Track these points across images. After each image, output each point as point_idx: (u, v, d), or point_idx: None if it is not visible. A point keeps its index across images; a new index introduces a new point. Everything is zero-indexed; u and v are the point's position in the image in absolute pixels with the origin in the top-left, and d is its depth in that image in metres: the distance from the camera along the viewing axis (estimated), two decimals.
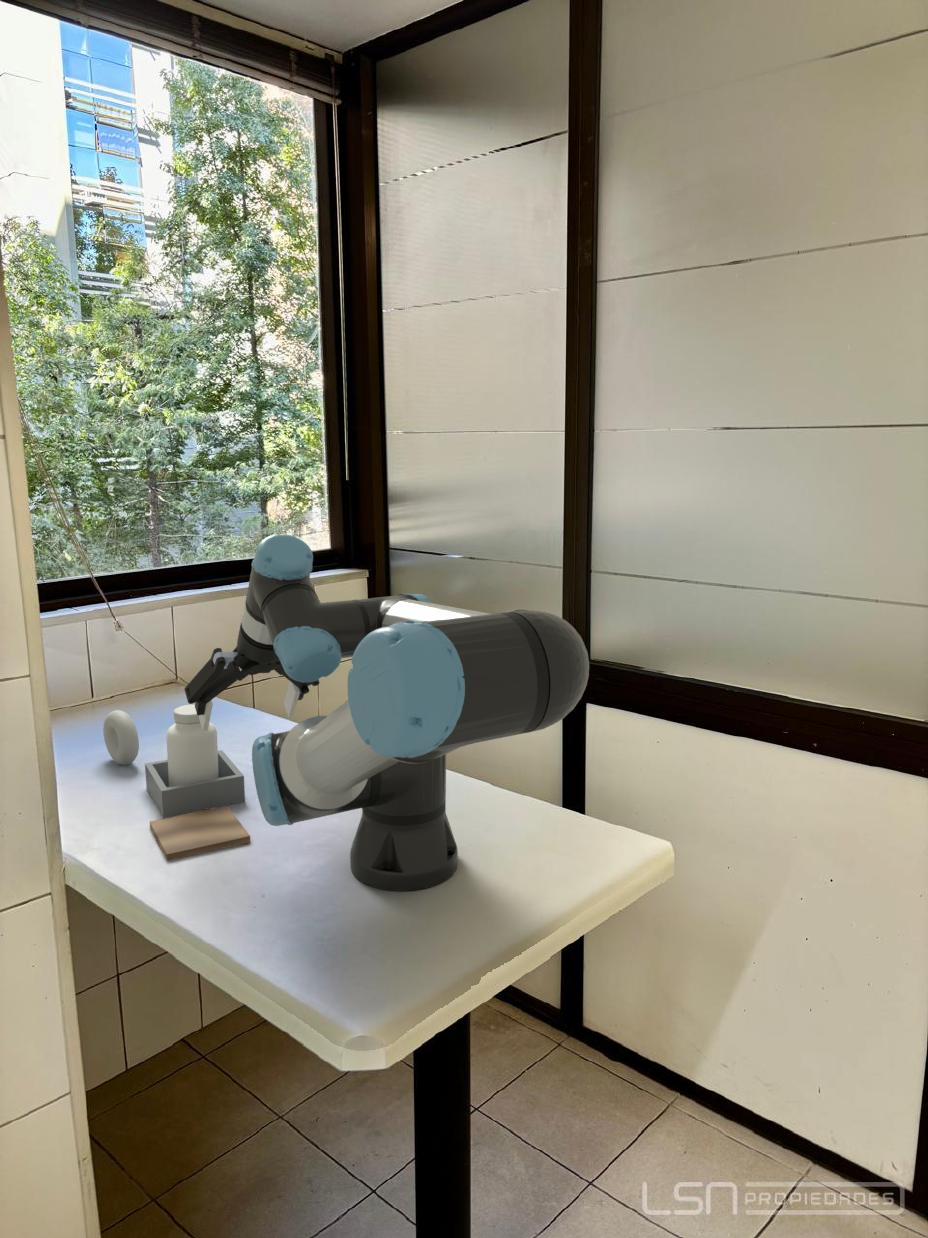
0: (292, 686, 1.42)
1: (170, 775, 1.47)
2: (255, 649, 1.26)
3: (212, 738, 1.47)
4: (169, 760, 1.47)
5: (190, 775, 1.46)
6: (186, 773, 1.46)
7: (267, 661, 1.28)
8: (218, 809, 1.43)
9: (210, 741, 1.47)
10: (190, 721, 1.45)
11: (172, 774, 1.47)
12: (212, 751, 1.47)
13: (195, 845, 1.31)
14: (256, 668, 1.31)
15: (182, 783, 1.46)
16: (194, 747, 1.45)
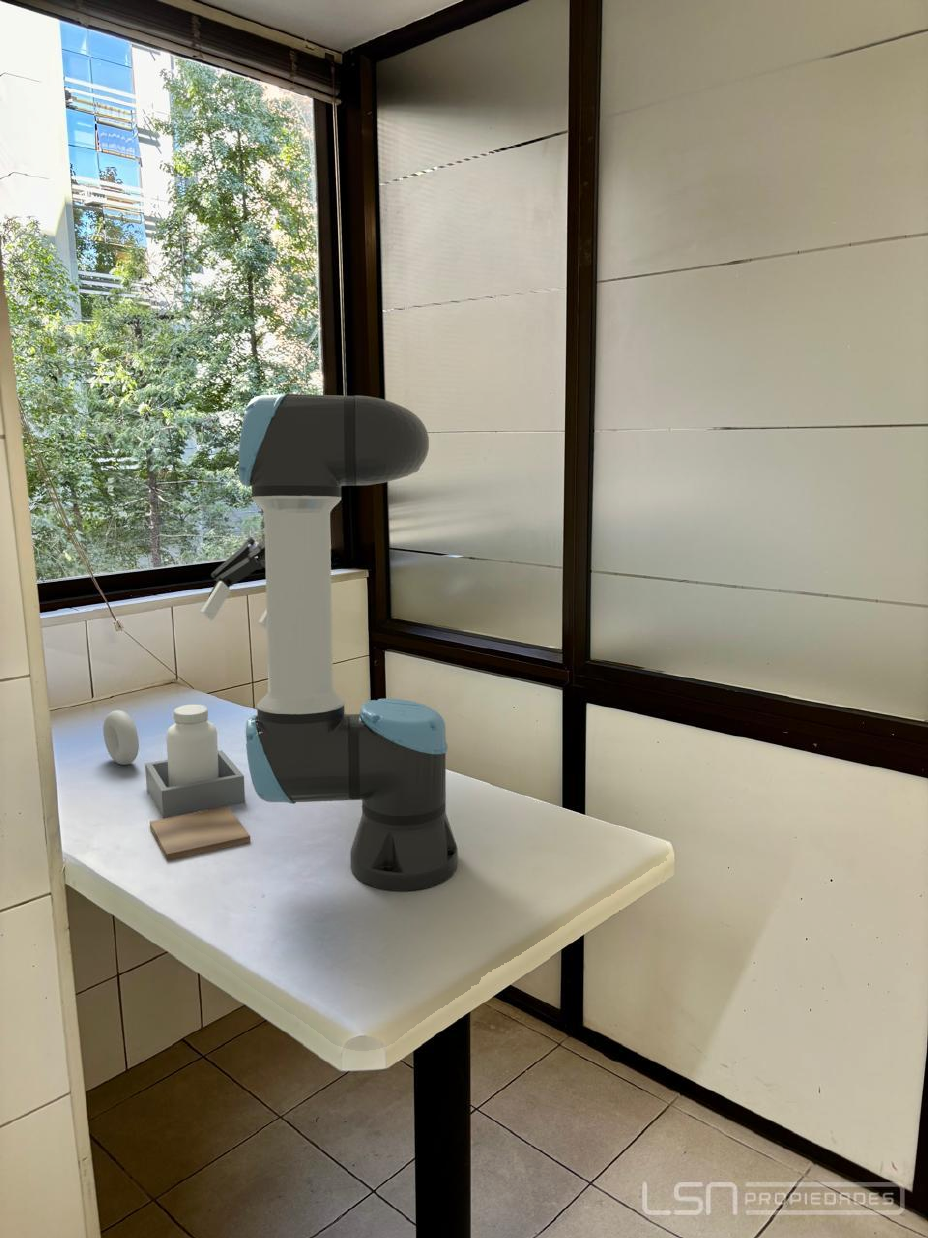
0: None
1: (170, 775, 1.47)
2: None
3: (212, 738, 1.47)
4: (169, 760, 1.47)
5: (190, 775, 1.46)
6: (186, 773, 1.46)
7: None
8: (218, 809, 1.43)
9: (210, 741, 1.47)
10: (190, 721, 1.45)
11: (172, 774, 1.47)
12: (212, 751, 1.47)
13: (195, 845, 1.31)
14: (264, 545, 1.59)
15: (182, 783, 1.46)
16: (194, 747, 1.45)
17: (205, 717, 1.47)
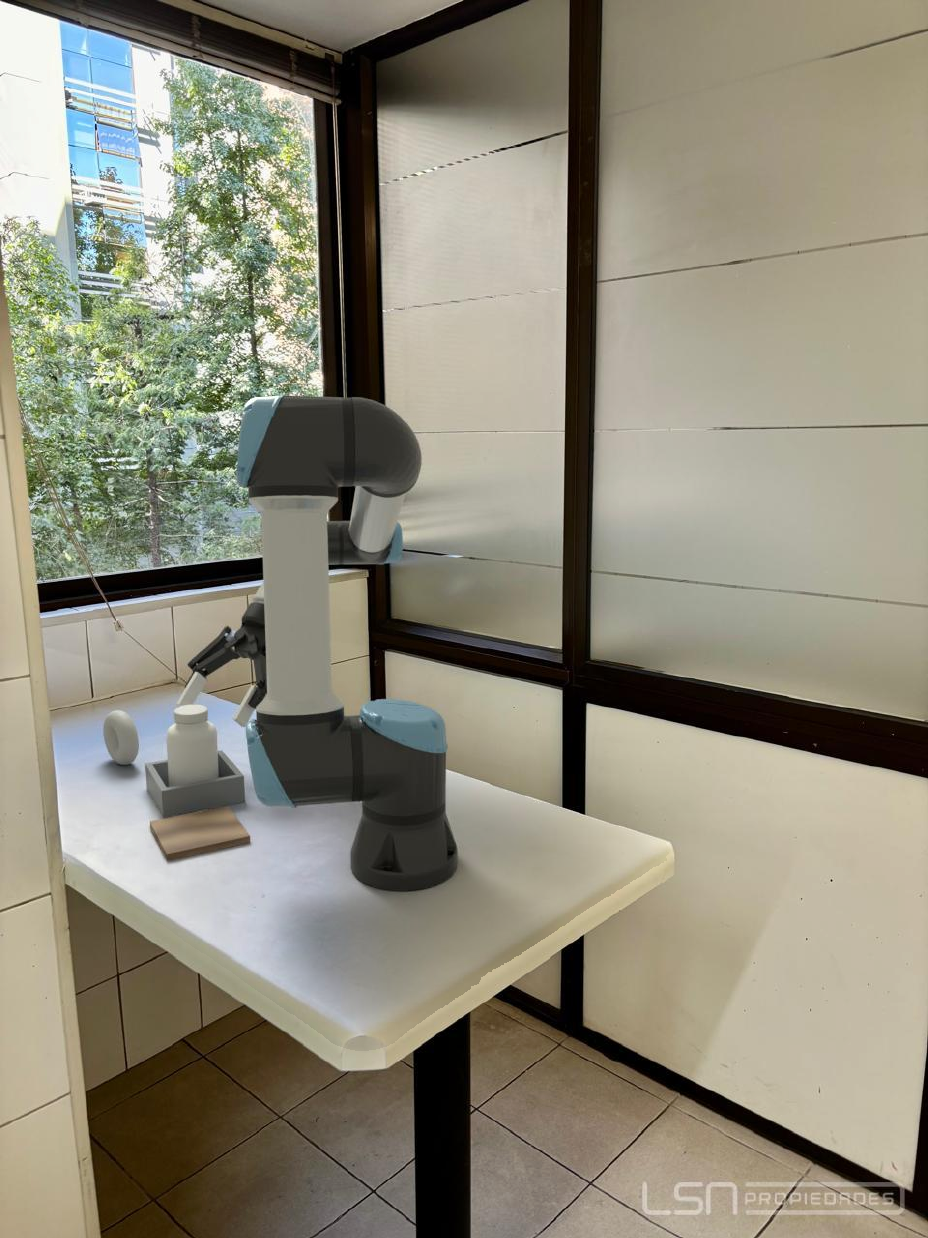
0: None
1: (170, 775, 1.47)
2: (248, 607, 1.60)
3: (212, 738, 1.47)
4: (169, 760, 1.47)
5: (190, 775, 1.46)
6: (186, 773, 1.46)
7: (247, 614, 1.57)
8: (218, 809, 1.43)
9: (210, 741, 1.47)
10: (190, 721, 1.45)
11: (172, 774, 1.47)
12: (212, 751, 1.47)
13: (195, 845, 1.31)
14: (240, 636, 1.58)
15: (182, 783, 1.46)
16: (194, 747, 1.45)
17: (205, 717, 1.47)
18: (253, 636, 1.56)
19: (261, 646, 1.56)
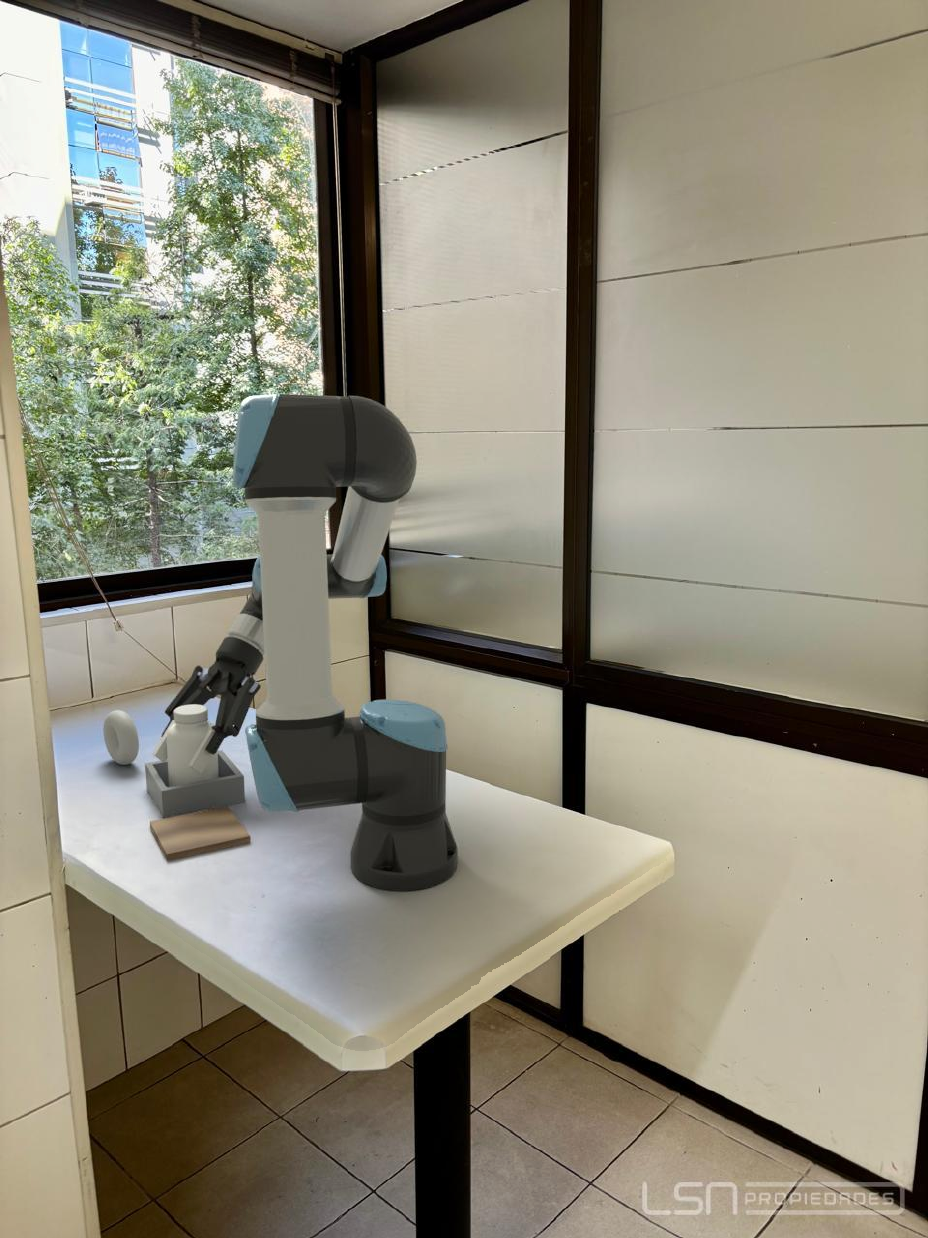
0: None
1: (170, 775, 1.47)
2: None
3: None
4: (169, 760, 1.47)
5: (189, 775, 1.46)
6: (186, 773, 1.46)
7: (221, 649, 1.52)
8: (218, 809, 1.43)
9: None
10: (190, 721, 1.45)
11: (172, 774, 1.47)
12: None
13: (195, 845, 1.31)
14: (214, 672, 1.52)
15: (182, 783, 1.46)
16: (194, 747, 1.45)
17: (205, 717, 1.47)
18: (227, 672, 1.51)
19: (235, 683, 1.51)
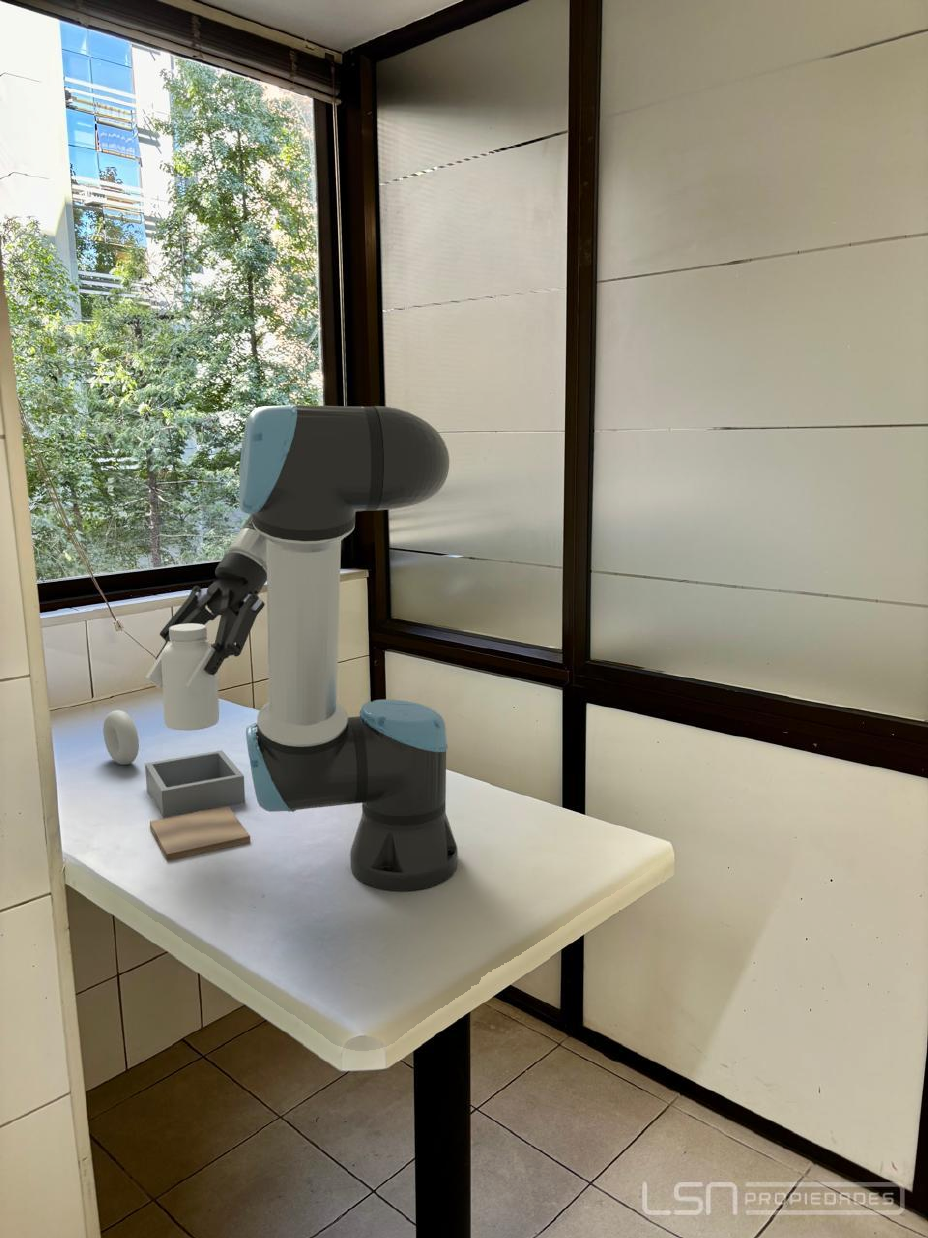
0: None
1: (165, 700, 1.34)
2: None
3: None
4: (164, 682, 1.33)
5: (187, 698, 1.32)
6: (182, 696, 1.32)
7: (221, 565, 1.39)
8: (218, 809, 1.43)
9: None
10: (187, 638, 1.32)
11: (167, 698, 1.33)
12: None
13: (195, 845, 1.31)
14: (214, 590, 1.39)
15: (178, 707, 1.32)
16: (191, 666, 1.31)
17: (204, 635, 1.33)
18: (228, 589, 1.38)
19: (237, 600, 1.37)
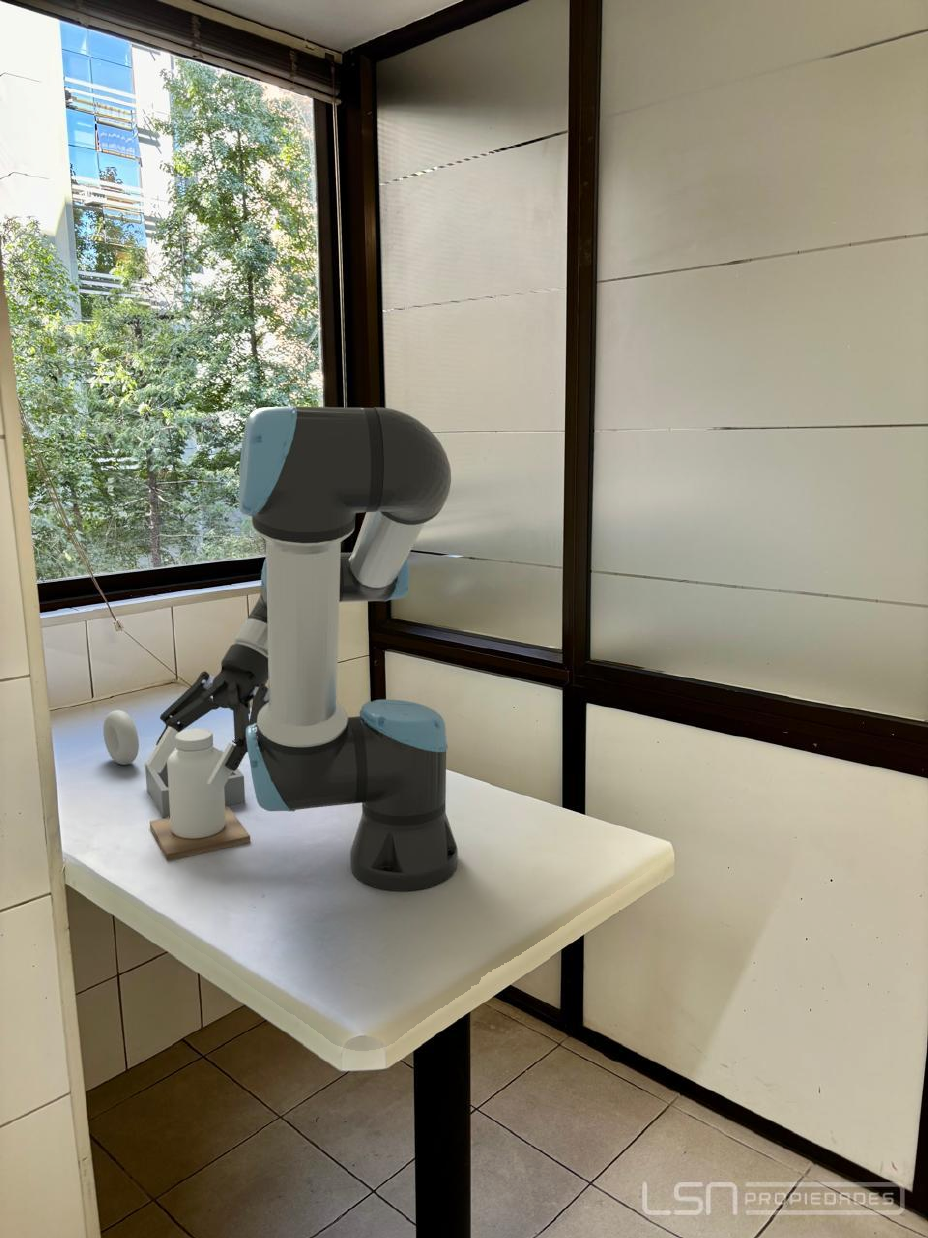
0: None
1: (171, 807, 1.33)
2: None
3: None
4: (170, 791, 1.32)
5: (193, 808, 1.31)
6: (189, 806, 1.31)
7: (228, 658, 1.38)
8: None
9: None
10: (193, 748, 1.31)
11: (174, 806, 1.32)
12: None
13: (195, 845, 1.31)
14: (220, 683, 1.38)
15: (185, 816, 1.32)
16: (198, 777, 1.31)
17: (210, 743, 1.33)
18: (234, 684, 1.36)
19: (243, 695, 1.36)
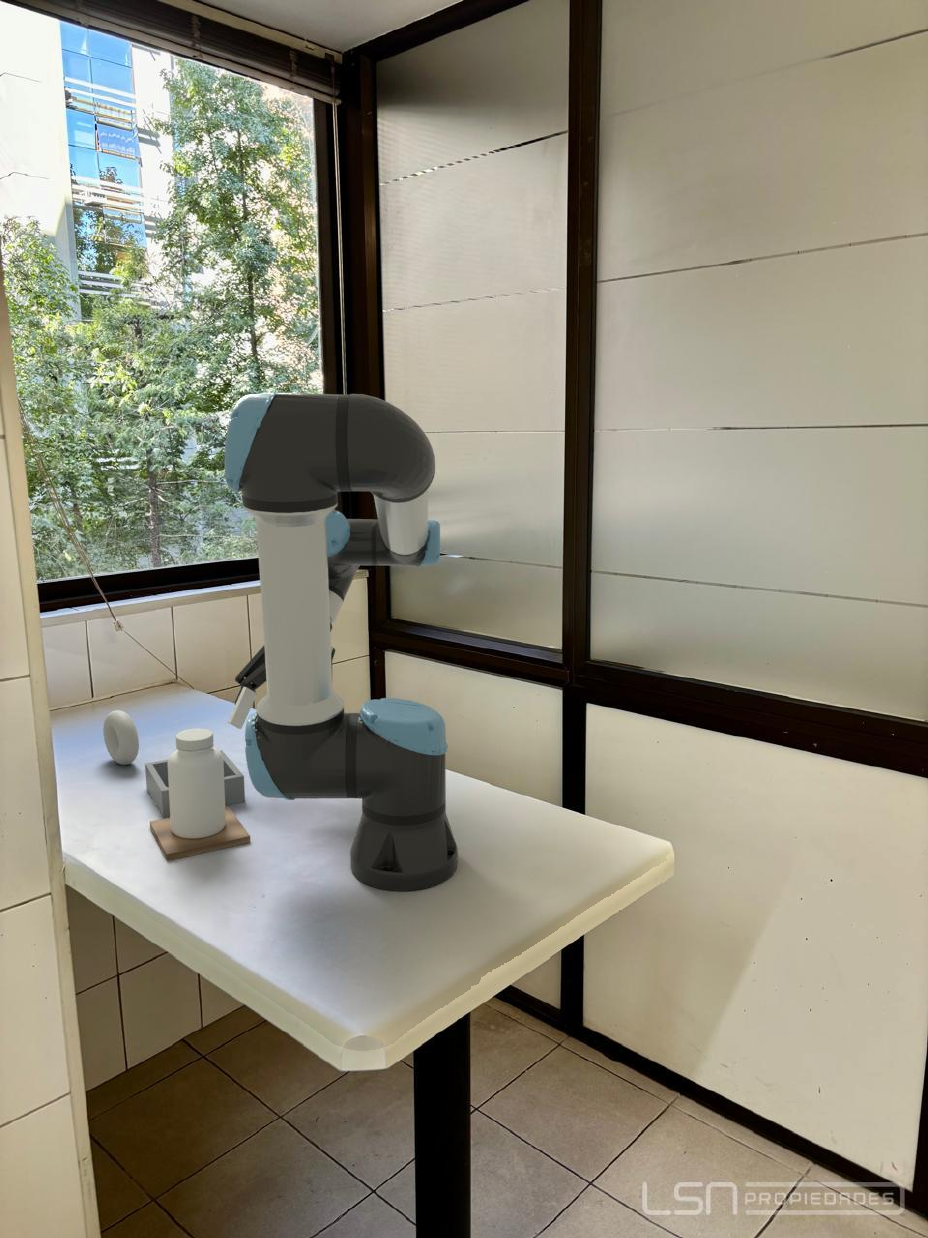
0: None
1: (171, 807, 1.33)
2: None
3: (218, 766, 1.33)
4: (170, 791, 1.32)
5: (193, 808, 1.31)
6: (189, 806, 1.31)
7: None
8: None
9: (215, 769, 1.32)
10: (194, 748, 1.31)
11: (174, 806, 1.32)
12: (218, 780, 1.33)
13: (195, 845, 1.31)
14: None
15: (185, 816, 1.32)
16: (198, 777, 1.31)
17: (210, 743, 1.33)
18: None
19: None
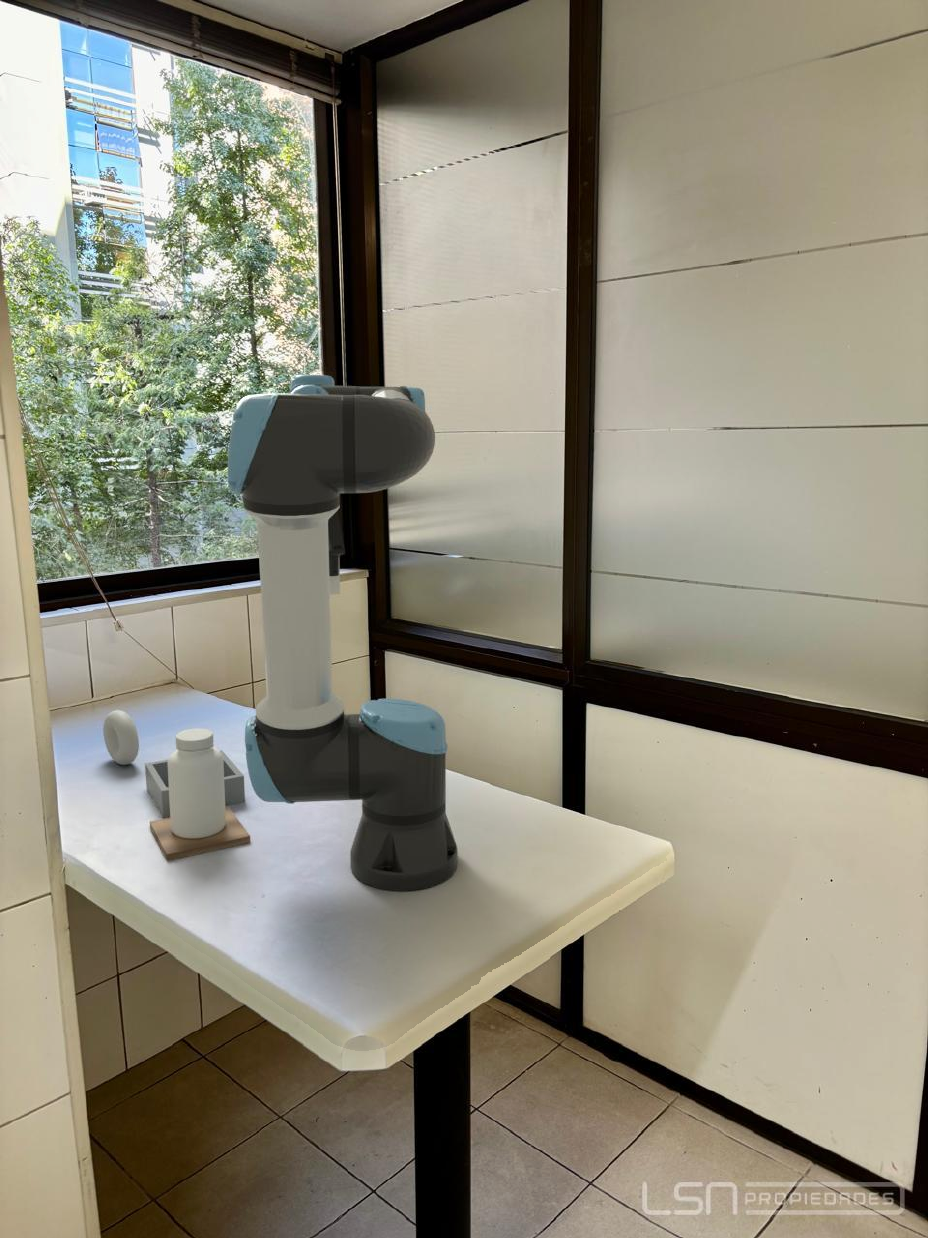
0: None
1: (171, 807, 1.33)
2: None
3: (218, 766, 1.33)
4: (170, 791, 1.32)
5: (193, 808, 1.31)
6: (189, 806, 1.31)
7: None
8: None
9: (215, 769, 1.32)
10: (194, 748, 1.31)
11: (174, 806, 1.32)
12: (218, 780, 1.33)
13: (195, 845, 1.31)
14: None
15: (185, 816, 1.32)
16: (198, 777, 1.31)
17: (210, 743, 1.33)
18: None
19: None
